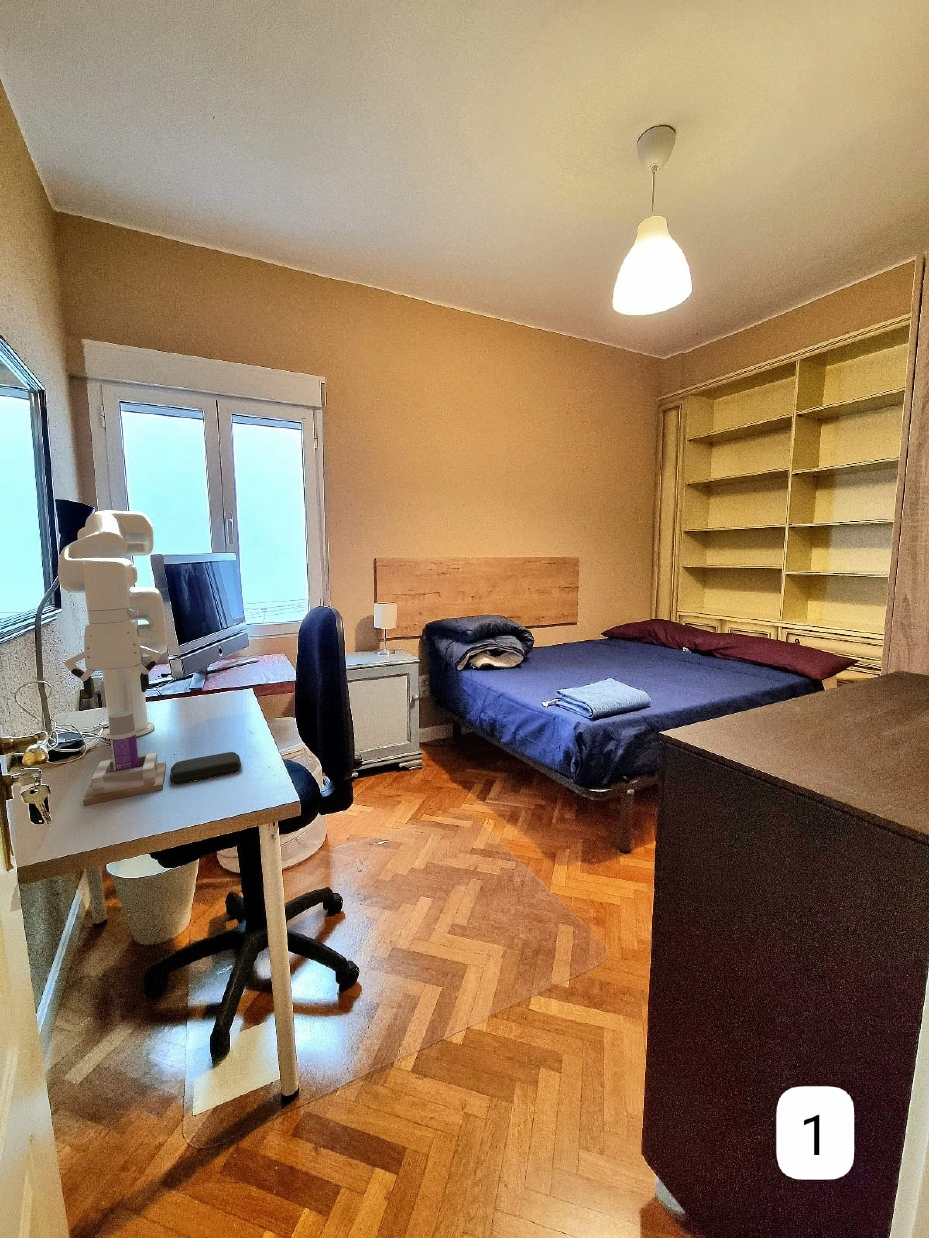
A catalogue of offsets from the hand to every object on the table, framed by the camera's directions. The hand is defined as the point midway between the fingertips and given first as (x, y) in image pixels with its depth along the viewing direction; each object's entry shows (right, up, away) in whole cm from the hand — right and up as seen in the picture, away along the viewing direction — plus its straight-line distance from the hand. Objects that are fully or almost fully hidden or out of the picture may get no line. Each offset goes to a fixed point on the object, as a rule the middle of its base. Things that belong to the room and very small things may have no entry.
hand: (118, 693), depth 111 cm
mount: (+1, -21, +2) cm, 21 cm away
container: (+1, -20, +2) cm, 20 cm away
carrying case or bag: (+15, -20, +9) cm, 27 cm away
